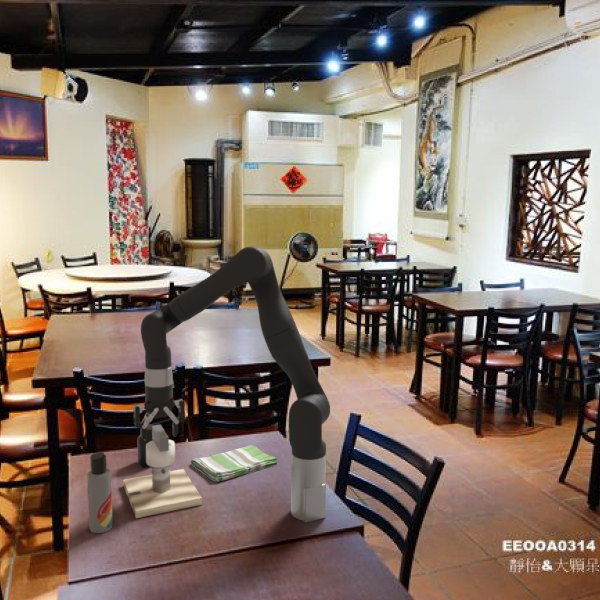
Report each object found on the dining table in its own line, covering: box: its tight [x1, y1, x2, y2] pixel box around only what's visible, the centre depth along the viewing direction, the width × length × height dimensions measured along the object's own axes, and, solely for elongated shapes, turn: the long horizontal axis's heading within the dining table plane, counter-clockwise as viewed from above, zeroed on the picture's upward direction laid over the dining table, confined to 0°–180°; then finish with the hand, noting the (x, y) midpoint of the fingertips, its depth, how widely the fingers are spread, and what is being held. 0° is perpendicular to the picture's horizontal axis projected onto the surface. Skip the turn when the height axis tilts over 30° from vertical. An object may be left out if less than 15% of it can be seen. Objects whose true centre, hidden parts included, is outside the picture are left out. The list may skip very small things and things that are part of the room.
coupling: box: [146, 424, 176, 468], centre depth 167 cm, size 10×8×9 cm
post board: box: [122, 465, 203, 519], centre depth 169 cm, size 20×18×10 cm
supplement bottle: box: [136, 424, 153, 468], centre depth 190 cm, size 7×7×12 cm
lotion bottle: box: [86, 451, 113, 534], centre depth 151 cm, size 6×6×20 cm
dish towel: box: [190, 444, 278, 483], centre depth 191 cm, size 17×23×4 cm
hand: (160, 437), depth 167 cm, fingers open, 7 cm apart
